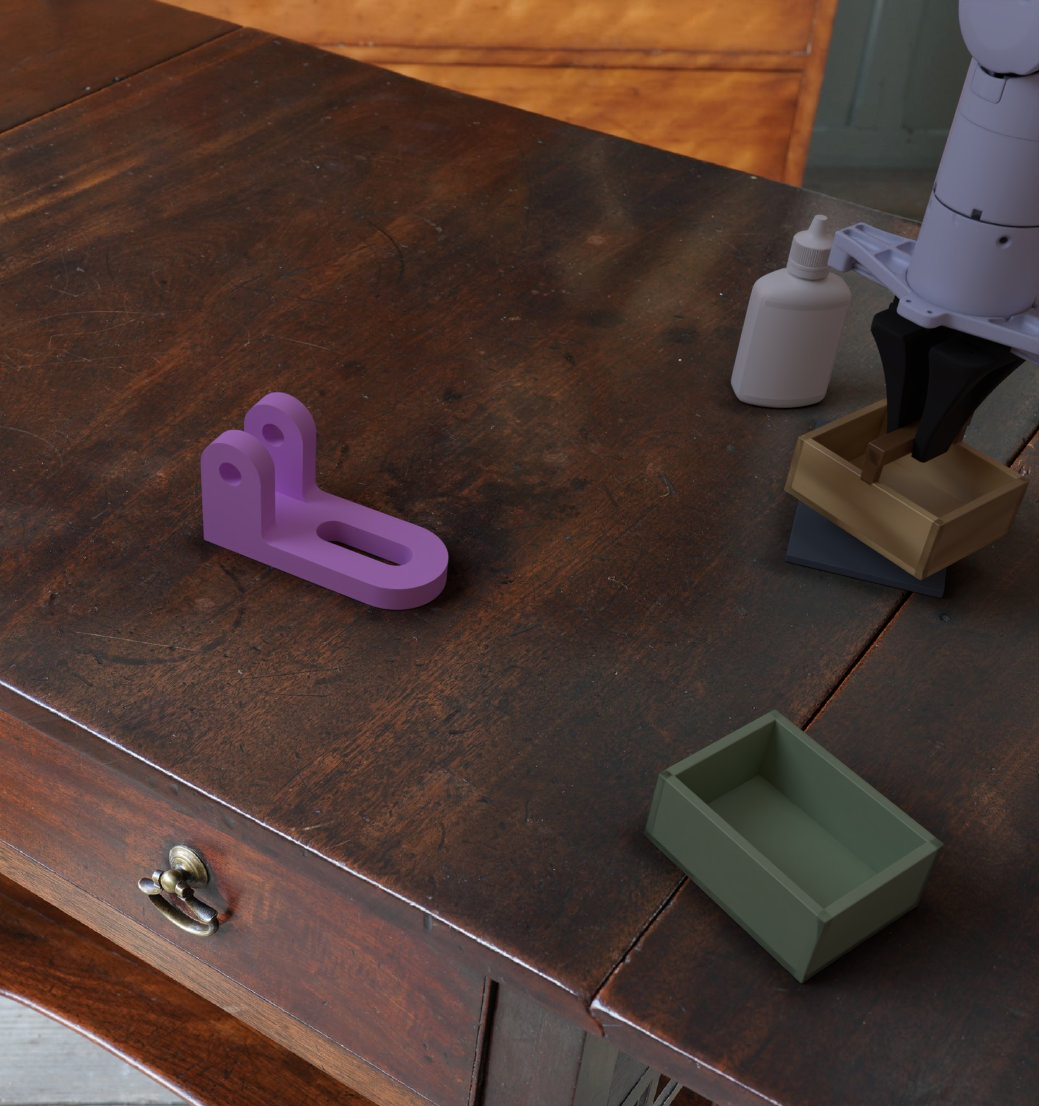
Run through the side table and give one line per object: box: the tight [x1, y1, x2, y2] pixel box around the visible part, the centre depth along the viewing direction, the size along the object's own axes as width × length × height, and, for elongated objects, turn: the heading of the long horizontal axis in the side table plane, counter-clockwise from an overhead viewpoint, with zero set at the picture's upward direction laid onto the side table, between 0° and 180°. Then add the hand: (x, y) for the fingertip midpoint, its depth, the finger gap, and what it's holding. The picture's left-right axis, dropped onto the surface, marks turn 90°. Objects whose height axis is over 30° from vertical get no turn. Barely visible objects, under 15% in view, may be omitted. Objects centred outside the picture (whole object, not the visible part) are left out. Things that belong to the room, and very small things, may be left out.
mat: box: [784, 418, 947, 599], centre depth 82 cm, size 14×8×1 cm, turn 158°
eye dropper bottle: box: [730, 214, 852, 409], centre depth 87 cm, size 4×6×12 cm
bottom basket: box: [643, 708, 945, 984], centre depth 61 cm, size 9×7×4 cm
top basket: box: [783, 397, 1031, 580], centre depth 75 cm, size 9×7×6 cm
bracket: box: [200, 391, 449, 611], centre depth 76 cm, size 13×6×7 cm, turn 59°
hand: (916, 446), depth 74 cm, fingers closed on top basket
